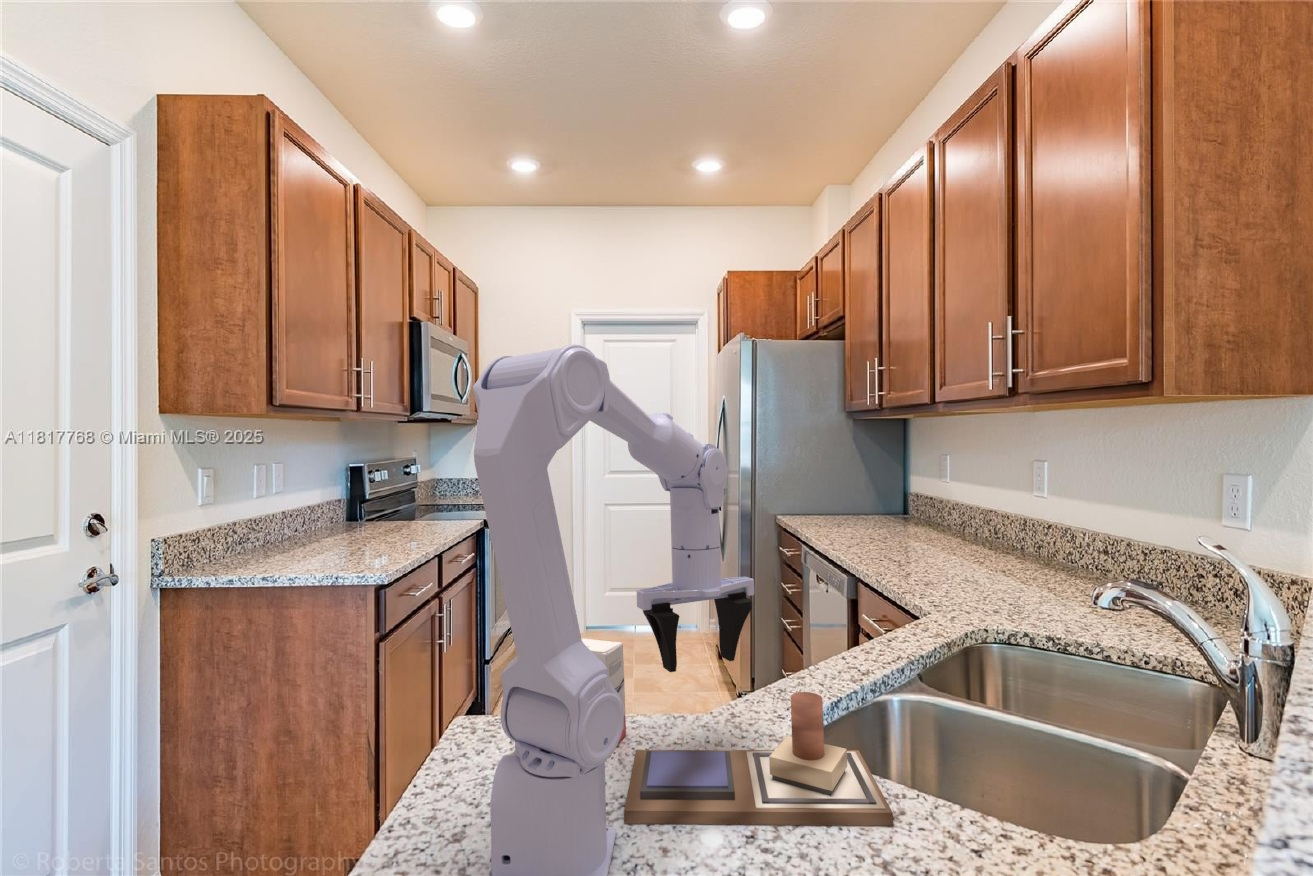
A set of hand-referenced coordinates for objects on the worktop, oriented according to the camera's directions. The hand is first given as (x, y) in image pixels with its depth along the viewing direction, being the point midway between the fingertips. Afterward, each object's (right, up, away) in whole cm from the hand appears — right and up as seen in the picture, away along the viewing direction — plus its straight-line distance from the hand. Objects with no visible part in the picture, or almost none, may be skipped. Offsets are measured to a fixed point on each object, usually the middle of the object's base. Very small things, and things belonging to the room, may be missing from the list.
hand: (699, 663), depth 72 cm
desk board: (+5, -10, -8) cm, 14 cm away
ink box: (-13, -11, +5) cm, 18 cm away
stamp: (+11, -9, -8) cm, 16 cm away
